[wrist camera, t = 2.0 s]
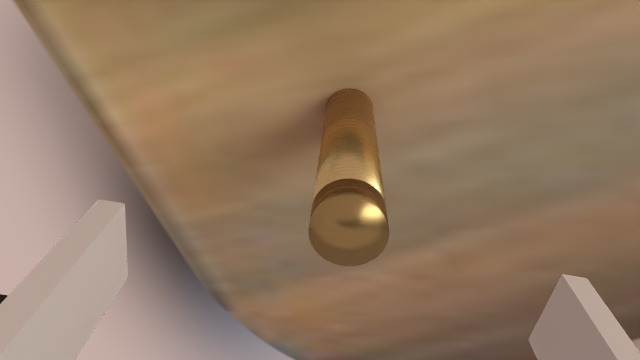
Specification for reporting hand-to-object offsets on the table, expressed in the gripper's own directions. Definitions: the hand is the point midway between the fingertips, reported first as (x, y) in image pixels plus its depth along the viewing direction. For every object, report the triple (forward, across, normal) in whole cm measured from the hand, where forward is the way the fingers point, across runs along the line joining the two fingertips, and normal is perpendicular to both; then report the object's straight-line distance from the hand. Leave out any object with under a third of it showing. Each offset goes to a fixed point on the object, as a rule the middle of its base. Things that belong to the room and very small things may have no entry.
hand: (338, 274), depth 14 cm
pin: (+15, 0, 0) cm, 15 cm away
